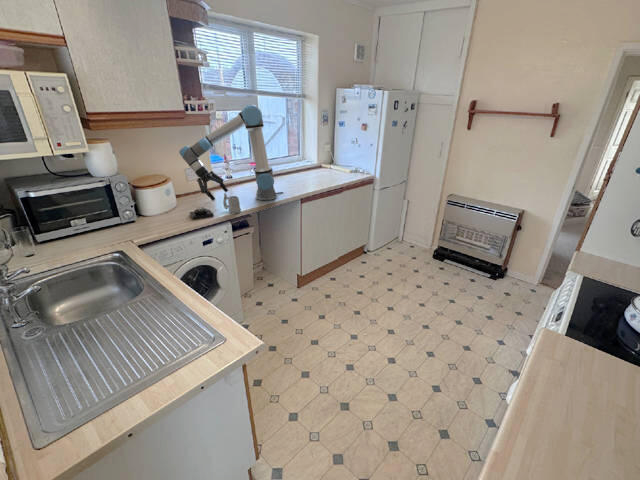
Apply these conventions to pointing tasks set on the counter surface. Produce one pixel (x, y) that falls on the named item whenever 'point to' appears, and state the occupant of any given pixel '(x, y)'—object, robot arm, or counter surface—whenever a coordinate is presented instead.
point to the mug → (232, 203)
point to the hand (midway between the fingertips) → (220, 195)
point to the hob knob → (200, 208)
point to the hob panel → (201, 214)
